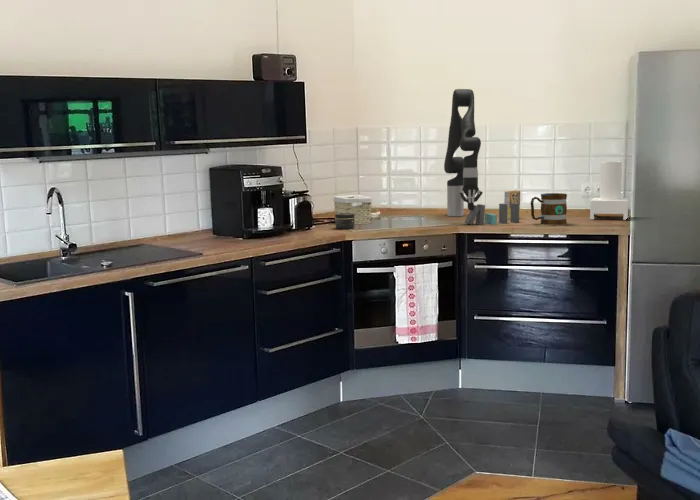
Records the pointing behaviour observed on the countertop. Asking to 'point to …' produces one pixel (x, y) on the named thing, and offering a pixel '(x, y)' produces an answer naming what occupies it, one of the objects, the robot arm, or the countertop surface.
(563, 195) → the mug
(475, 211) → the domino
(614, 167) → the paper towel holder
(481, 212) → the domino
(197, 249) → the countertop surface
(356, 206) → the storage basket
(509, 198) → the candy box
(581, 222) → the countertop surface
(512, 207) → the domino
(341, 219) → the jar
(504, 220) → the domino
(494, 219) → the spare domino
